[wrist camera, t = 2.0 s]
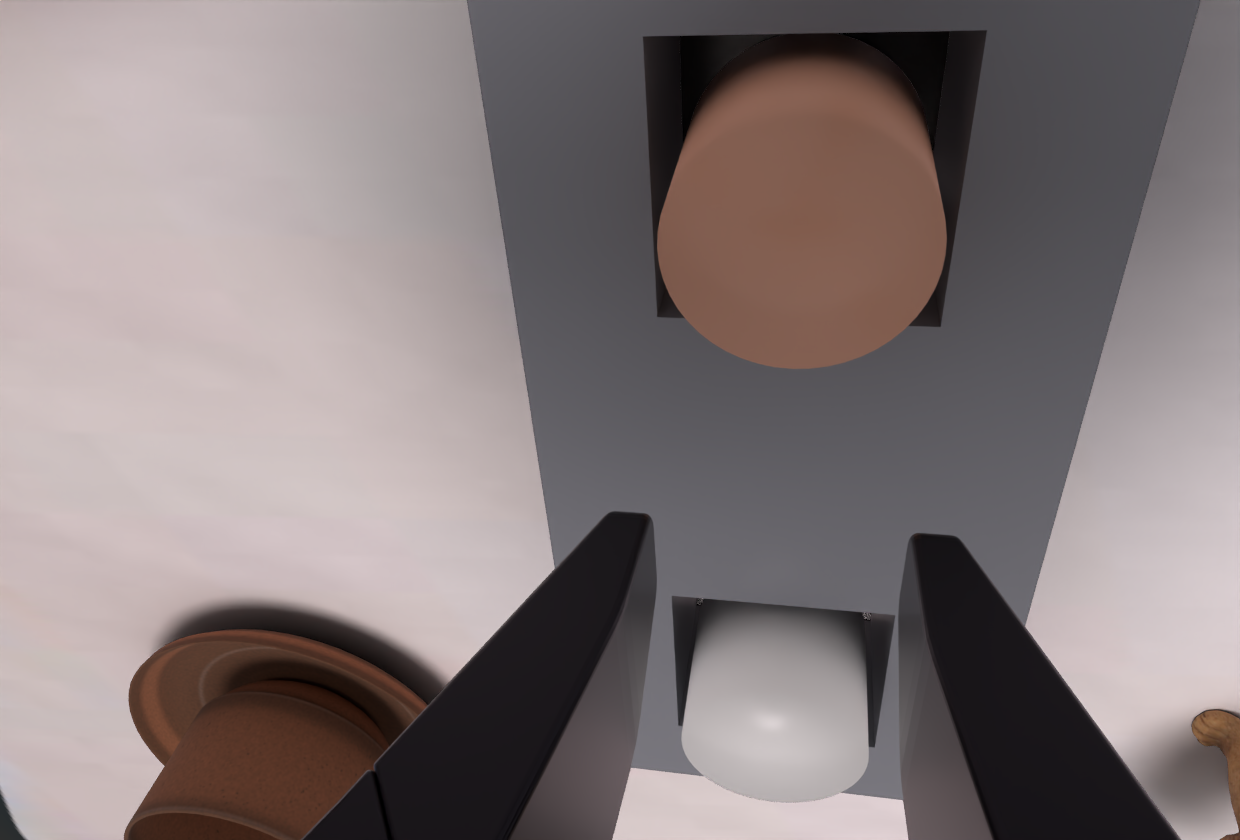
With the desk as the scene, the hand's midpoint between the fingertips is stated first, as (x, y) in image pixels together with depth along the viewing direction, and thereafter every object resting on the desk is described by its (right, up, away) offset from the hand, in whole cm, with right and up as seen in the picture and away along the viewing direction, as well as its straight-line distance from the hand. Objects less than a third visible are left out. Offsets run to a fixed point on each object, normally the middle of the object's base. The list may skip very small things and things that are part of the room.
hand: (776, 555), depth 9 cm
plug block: (+2, +2, +13) cm, 13 cm away
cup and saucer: (-12, -9, +26) cm, 30 cm away
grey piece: (+3, -4, +15) cm, 15 cm away
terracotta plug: (+2, +6, +7) cm, 9 cm away
